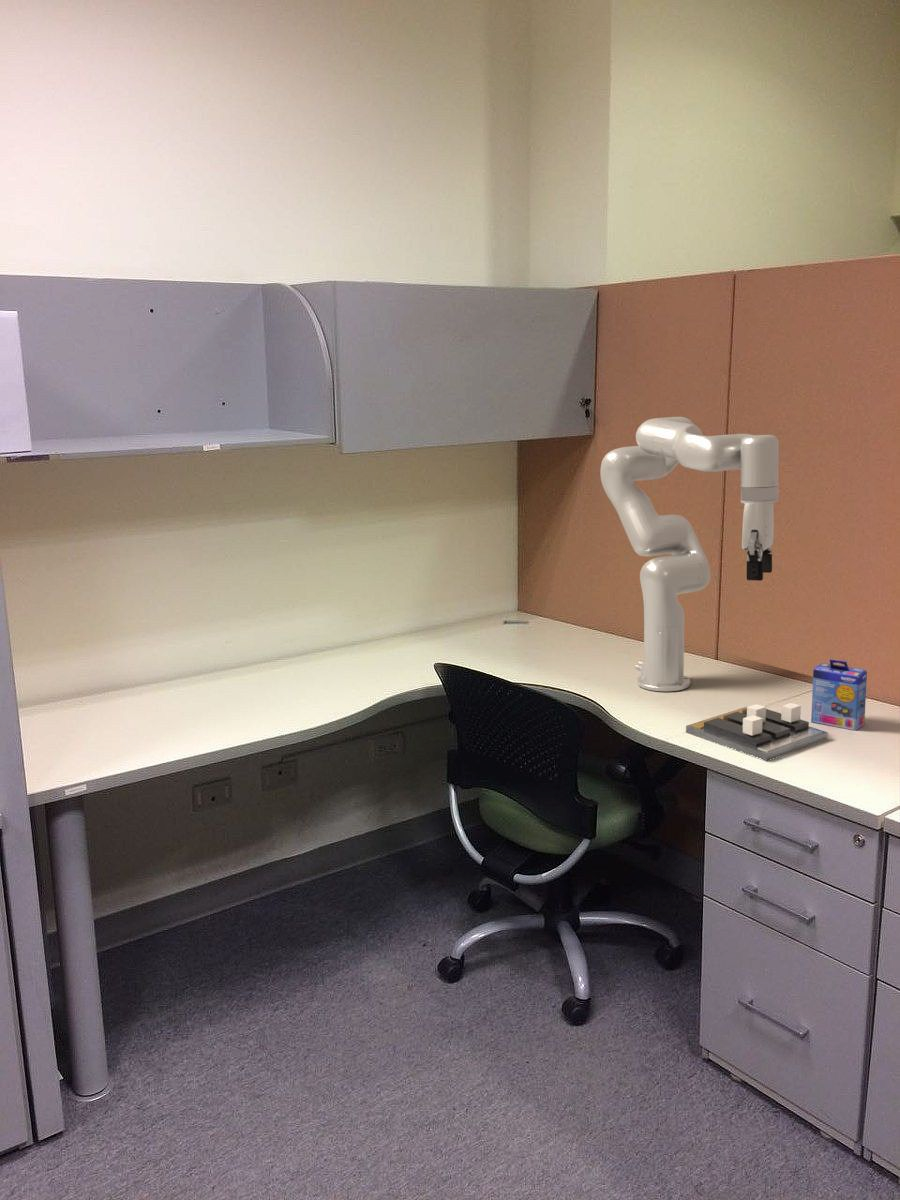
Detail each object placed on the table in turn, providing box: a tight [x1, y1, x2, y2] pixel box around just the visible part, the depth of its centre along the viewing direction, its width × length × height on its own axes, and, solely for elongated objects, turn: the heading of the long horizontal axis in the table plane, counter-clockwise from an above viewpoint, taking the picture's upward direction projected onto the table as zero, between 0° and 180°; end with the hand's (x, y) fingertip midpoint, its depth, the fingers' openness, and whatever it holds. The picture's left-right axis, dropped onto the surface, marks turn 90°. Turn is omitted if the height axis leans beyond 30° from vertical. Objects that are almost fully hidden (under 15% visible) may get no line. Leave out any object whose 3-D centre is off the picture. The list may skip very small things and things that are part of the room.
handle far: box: [781, 702, 802, 722], centre depth 209 cm, size 2×3×3 cm
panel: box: [685, 706, 829, 762], centre depth 210 cm, size 21×19×3 cm
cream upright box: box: [743, 715, 763, 736], centre depth 203 cm, size 2×3×3 cm
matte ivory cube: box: [746, 703, 767, 722], centre depth 209 cm, size 2×3×3 cm
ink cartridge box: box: [810, 658, 868, 731], centre depth 214 cm, size 10×6×14 cm, turn 51°
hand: (759, 576), depth 213 cm, fingers open, 9 cm apart
